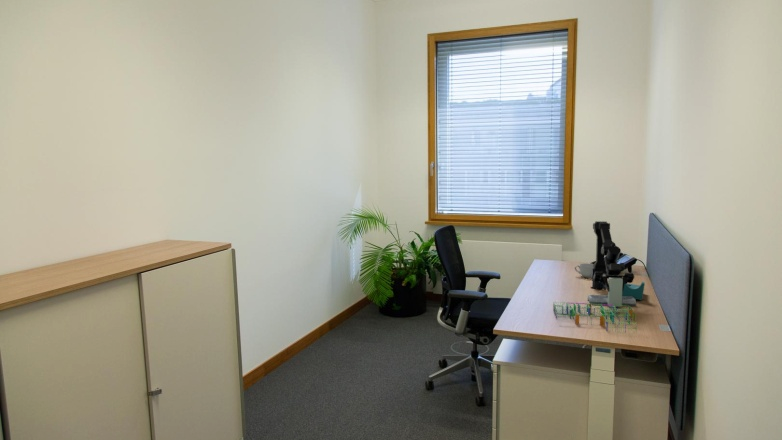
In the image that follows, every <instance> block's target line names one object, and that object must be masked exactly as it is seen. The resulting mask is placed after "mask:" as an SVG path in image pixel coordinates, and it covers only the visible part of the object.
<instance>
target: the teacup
mask: <svg viewBox="0 0 782 440" xmlns="http://www.w3.org/2000/svg"><path fill="white" fill-rule="evenodd" d="M593 265H594V264H593V263H587V262H585V263H584V262H583V263H580V264H576V265H574V268H573V269H574V271H575V272H576V273H578V274H580V275H581V277H583V278H587V279H592V278H591V270H592V268H593ZM577 267H578V269H579V270H577ZM593 276H594V275H593Z"/></svg>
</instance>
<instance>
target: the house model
mask: <svg viewBox="0 0 782 440" xmlns="http://www.w3.org/2000/svg"><path fill="white" fill-rule="evenodd" d="M557 303H558V302H555V301H553V304H552V306H553V307H552V308H553V309H552V311H553V314H554V317H555V318H557V315H558V316H569V317H570V318H569V317H566V319H570V320H574V324H575V325H580V317H586V323H583V322H582V325H584V324H585V325H588V324H589V323H588V322H589V319H588V318H589V317H591V318H593V317H594V318H599V323H598V326H602V325H603V328H604V327H606V328H605V329H606V332H608V327H609V325H615V318H616V317H617V318H618V313H619V318H618V321H616V324H618V325H620V326H617V325H615V326H611V328H612V329H611V328H610V331H611V330H612V331H613V329H615V332H616V331H617V329H618V333H621V327H622V329H624V331H625V332H624V331H623V333H626V332H627V331H629V329H630V330H632V329H633V330H635V331H636V332H637V328H638V327H637V324H638V323H637V315H636V314H635V312H634V309H633V308H632V306H625V305H617V306H614V305H606V304H590V303H582V302H565V301H560V302H559V303H560V304H559V303H558V304H557ZM564 304H565V305H566V306H565V308H564ZM571 304H573V305H571ZM582 305H586V306H582ZM592 306H594V307H592ZM596 306H597V307H596ZM609 307H610V309H609ZM617 307H619V308H617ZM621 307H623V308H621ZM559 308H561V309H559ZM584 309H586V310H584ZM618 309H621V310H618ZM596 310H598V311H596ZM583 311H584V312H583ZM587 312H588V313H587ZM591 312H592V314H591ZM600 312H601V313H602V314H601V313H600ZM579 313H580V314H579ZM586 313H587V314H586ZM596 314H601V315H596ZM614 315H615V316H616V317H615V316H614ZM634 317H635V321H634ZM574 318H575V319H574ZM609 318H610V319H609ZM608 320H609V321H608ZM621 320H623V321H621ZM631 320H632V322H631ZM626 323H627V324H626ZM590 325H591V326H592V325H593V319H590ZM622 325H623V326H622ZM632 325H633V326H632ZM634 326H635V327H636V328H635V327H634ZM635 331H633V334H636V332H635Z"/></svg>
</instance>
